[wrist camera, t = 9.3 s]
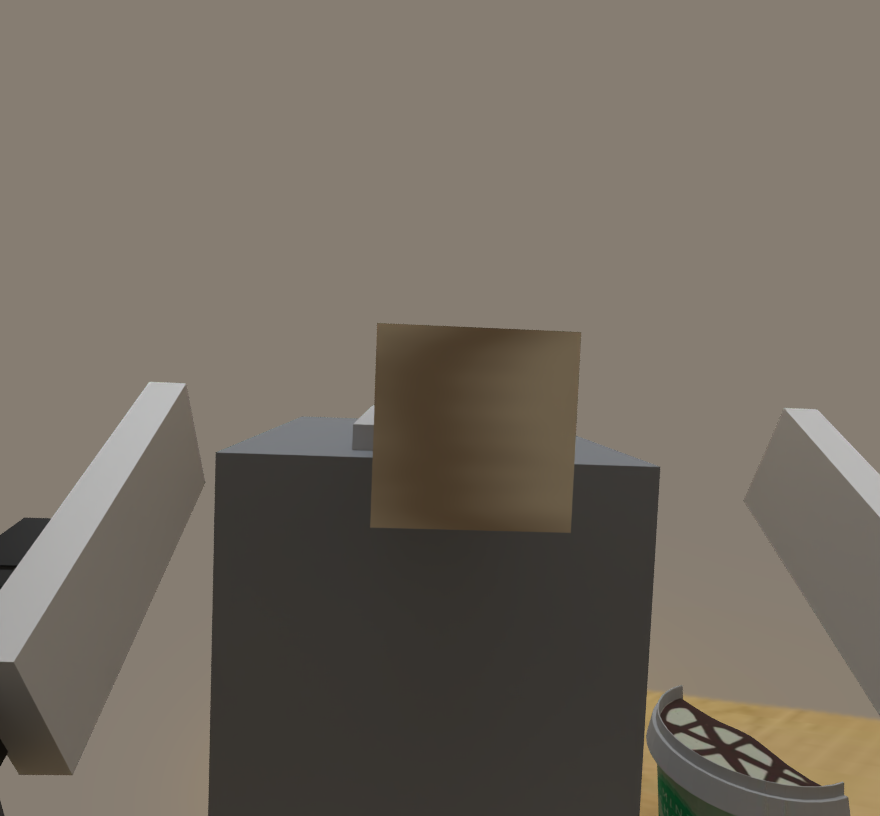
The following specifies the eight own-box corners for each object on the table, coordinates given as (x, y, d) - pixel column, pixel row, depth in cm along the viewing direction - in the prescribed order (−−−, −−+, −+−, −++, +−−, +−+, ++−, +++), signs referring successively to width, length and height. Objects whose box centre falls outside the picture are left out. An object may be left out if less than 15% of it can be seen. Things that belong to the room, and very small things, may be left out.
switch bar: (370, 527, 12) (377, 323, 12) (395, 422, 38) (397, 357, 38) (570, 532, 12) (581, 331, 12) (459, 424, 38) (462, 360, 38)
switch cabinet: (200, 1191, 23) (216, 424, 22) (293, 820, 43) (305, 400, 41) (617, 1177, 24) (661, 439, 23) (524, 820, 44) (544, 409, 42)
